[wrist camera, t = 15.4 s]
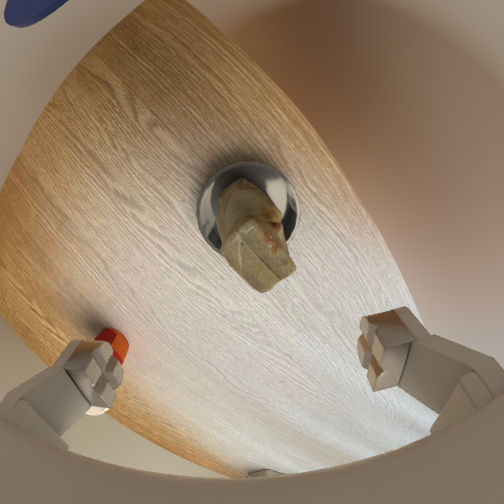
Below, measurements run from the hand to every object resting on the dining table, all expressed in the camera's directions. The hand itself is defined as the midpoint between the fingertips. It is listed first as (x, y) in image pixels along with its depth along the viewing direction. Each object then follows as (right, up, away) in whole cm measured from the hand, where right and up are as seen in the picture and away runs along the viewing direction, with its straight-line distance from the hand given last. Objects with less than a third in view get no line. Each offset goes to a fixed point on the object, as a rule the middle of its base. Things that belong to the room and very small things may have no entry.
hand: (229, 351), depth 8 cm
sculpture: (+1, +8, +24) cm, 25 cm away
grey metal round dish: (0, +8, +24) cm, 26 cm away
